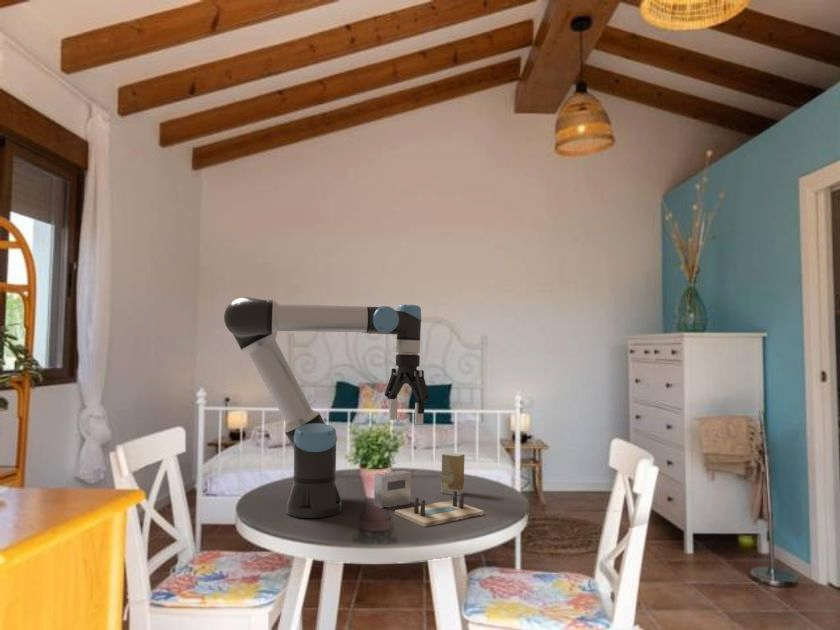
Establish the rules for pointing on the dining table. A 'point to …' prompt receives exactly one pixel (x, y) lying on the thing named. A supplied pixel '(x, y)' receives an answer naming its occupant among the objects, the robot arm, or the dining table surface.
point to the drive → (392, 489)
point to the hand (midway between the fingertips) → (405, 422)
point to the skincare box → (452, 473)
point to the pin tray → (439, 511)
